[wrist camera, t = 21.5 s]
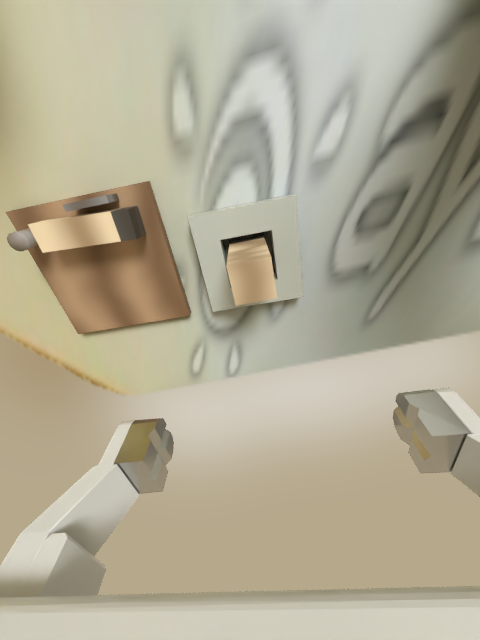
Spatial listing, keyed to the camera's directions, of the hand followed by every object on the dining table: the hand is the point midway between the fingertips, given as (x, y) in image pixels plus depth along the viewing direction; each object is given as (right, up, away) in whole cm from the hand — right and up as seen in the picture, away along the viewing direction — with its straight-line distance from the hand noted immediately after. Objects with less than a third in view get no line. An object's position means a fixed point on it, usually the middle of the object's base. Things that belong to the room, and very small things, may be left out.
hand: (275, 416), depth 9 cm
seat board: (-15, +9, +19) cm, 26 cm away
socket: (0, +10, +18) cm, 21 cm away
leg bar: (-15, +12, +16) cm, 25 cm away
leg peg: (0, +10, +18) cm, 21 cm away
